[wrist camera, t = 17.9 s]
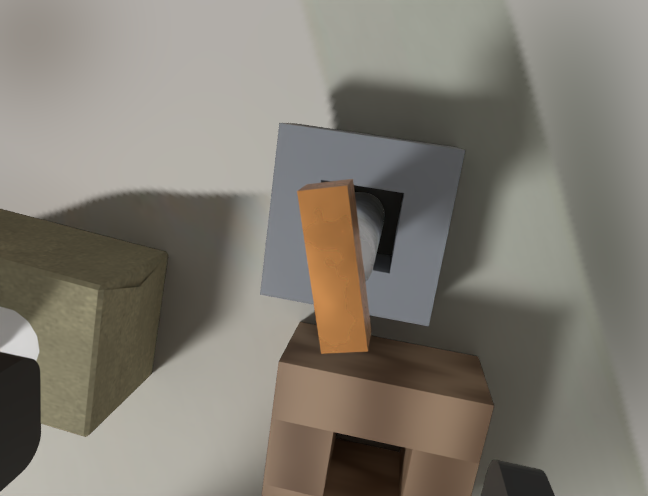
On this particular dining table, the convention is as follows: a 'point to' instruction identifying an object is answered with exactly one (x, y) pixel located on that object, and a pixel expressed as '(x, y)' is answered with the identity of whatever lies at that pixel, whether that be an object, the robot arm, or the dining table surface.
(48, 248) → the tissue box
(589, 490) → the dining table surface
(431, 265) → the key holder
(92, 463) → the dining table surface
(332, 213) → the bar
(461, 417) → the block
